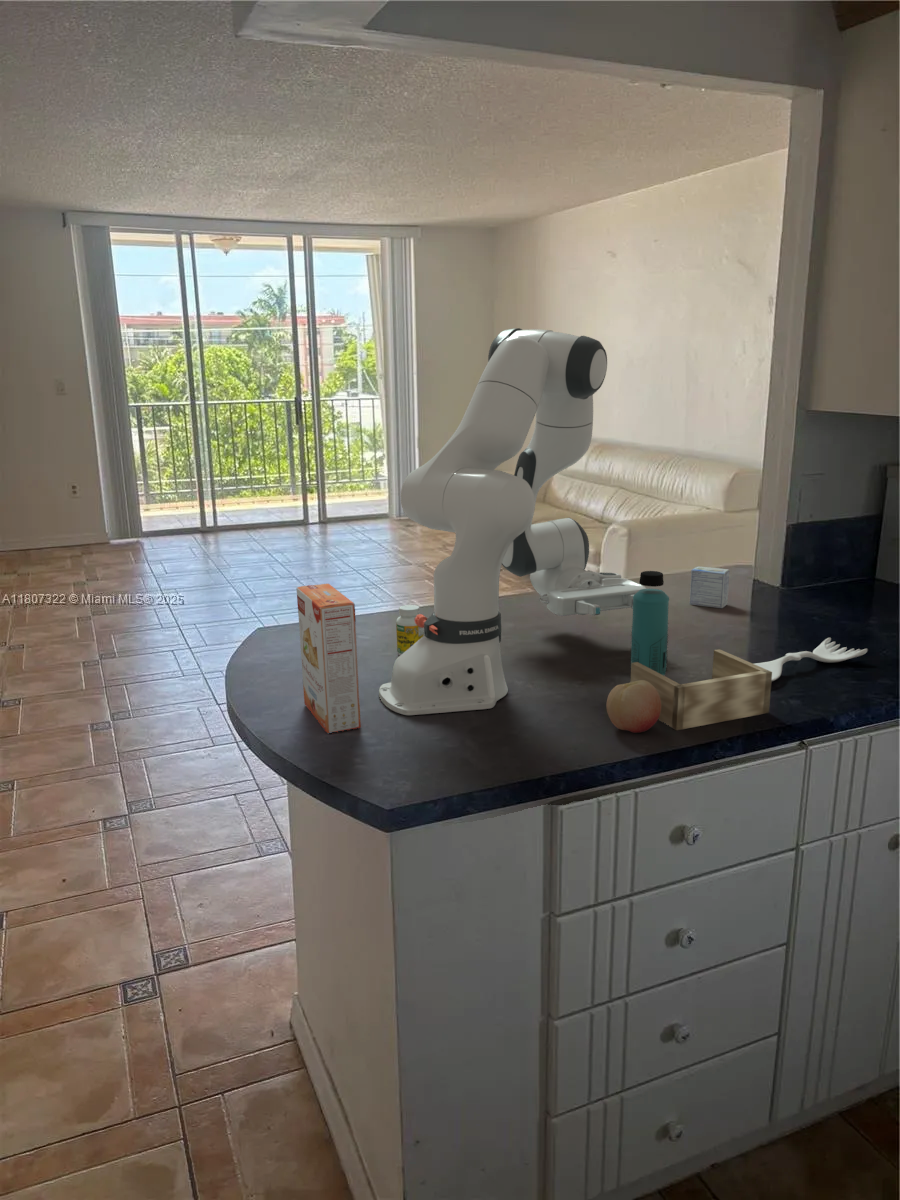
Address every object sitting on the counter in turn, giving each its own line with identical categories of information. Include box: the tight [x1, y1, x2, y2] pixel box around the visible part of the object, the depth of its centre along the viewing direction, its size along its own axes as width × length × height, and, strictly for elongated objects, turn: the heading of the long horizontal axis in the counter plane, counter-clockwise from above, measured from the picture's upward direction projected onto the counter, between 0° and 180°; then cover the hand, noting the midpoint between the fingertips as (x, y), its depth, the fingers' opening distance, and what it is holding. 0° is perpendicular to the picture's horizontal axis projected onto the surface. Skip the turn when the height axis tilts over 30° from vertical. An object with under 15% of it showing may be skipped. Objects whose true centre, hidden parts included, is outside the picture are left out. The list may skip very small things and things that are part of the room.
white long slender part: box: [754, 637, 868, 683], centre depth 162 cm, size 9×32×4 cm, turn 119°
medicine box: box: [689, 566, 730, 609], centre depth 207 cm, size 8×4×9 cm, turn 58°
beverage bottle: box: [629, 570, 670, 676], centre depth 155 cm, size 6×7×20 cm
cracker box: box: [296, 583, 362, 734], centre depth 140 cm, size 14×6×21 cm, turn 24°
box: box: [630, 649, 772, 731], centre depth 144 cm, size 18×13×7 cm
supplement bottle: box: [395, 604, 424, 656], centre depth 173 cm, size 5×5×10 cm
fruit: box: [605, 680, 661, 734], centre depth 135 cm, size 8×8×8 cm
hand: (618, 608), depth 164 cm, fingers open, 8 cm apart
